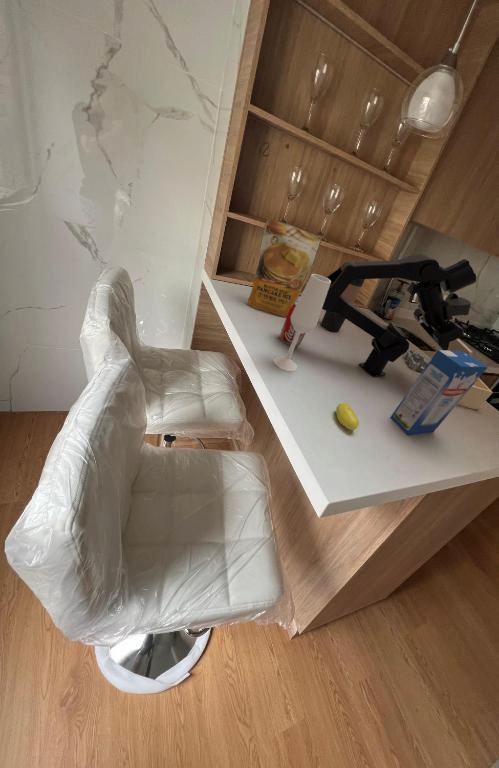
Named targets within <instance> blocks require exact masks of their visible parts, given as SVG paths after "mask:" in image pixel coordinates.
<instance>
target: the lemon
mask: <svg viewBox="0 0 499 768" xmlns="http://www.w3.org/2000/svg"><path fill="white" fill-rule="evenodd" d="M335 411H336V417H337V419H338V422H339V423H340V425H342V426H343V427H344V428H346V429H347V430H350V431H354V430H357V429H358V427H359V425H360V421H359V418H358V417H357V415H356V413H355V411H354V410H353V409H352V407H351V406H350V404H349V403H346V402H345V403H344V402H343V403H339V404H338V405H336V408H335Z"/></svg>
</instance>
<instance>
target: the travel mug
mask: <svg viewBox="0 0 499 768" xmlns="http://www.w3.org/2000/svg"><path fill="white" fill-rule="evenodd" d="M365 281H366V279H359V280H353V281H352V282H351V283H350V284H349V286H348V287H347V288H346V290H345V291H344V292H343V293H342V296H343V298H344V299H345V300H347V301H348V302H350V303H351V304H353V305H354V303H355V301H356V298H357V297H358V295H359V294H360V291H361V290H362V286H363V285H364V283H365ZM345 320H346V319H345V318H344V317H342V316H341V315H339V314H336V313H331V312H328V311H326V310H325V313H324V314H323V317H322V320H321V322H320V326H321V327H322V328H323V329H324V330H326V331H327V332H328V331H329V332H331V333H339V331H340V330H341V328H342V326H343V325H344V323H345Z"/></svg>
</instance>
